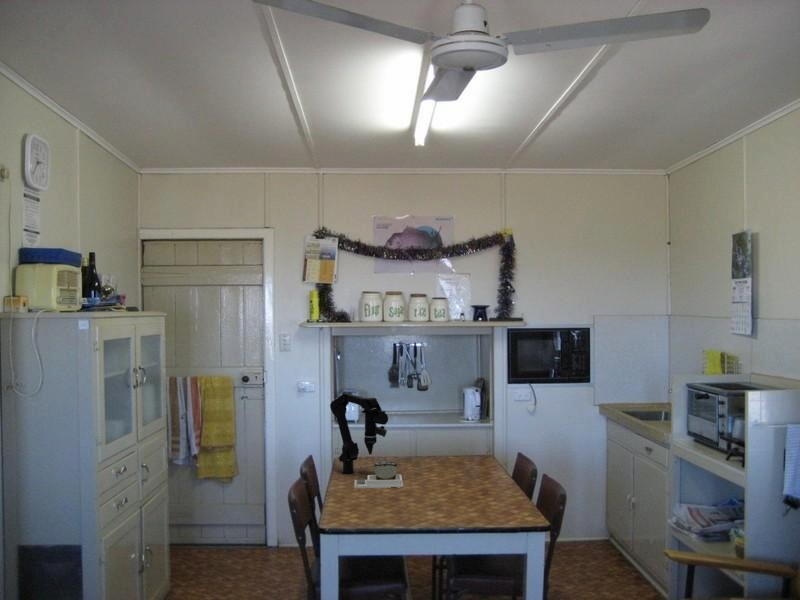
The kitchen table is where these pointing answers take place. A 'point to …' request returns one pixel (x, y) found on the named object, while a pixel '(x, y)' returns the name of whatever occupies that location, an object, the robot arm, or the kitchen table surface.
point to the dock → (378, 482)
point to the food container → (385, 470)
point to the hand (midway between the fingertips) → (370, 452)
